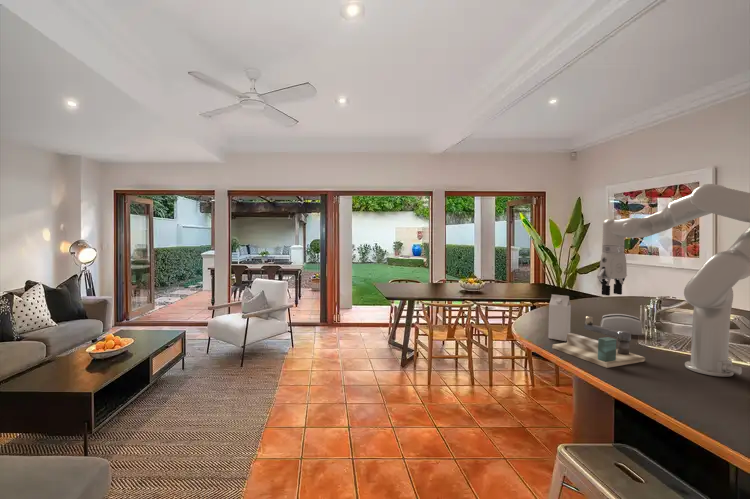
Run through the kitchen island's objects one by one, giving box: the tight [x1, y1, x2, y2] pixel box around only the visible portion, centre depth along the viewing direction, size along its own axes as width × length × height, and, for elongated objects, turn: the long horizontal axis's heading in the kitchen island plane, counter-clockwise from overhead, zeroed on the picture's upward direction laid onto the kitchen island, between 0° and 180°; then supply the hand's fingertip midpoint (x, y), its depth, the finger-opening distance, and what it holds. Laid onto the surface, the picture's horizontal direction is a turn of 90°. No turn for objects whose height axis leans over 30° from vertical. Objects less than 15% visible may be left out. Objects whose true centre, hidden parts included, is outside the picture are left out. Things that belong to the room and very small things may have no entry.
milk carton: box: [548, 293, 572, 342], centre depth 171 cm, size 7×7×19 cm
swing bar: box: [583, 315, 632, 343], centre depth 152 cm, size 18×4×6 cm, turn 21°
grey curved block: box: [599, 313, 643, 336], centre depth 181 cm, size 17×5×10 cm, turn 67°
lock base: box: [552, 332, 646, 369], centre depth 149 cm, size 24×19×9 cm
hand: (611, 294), depth 158 cm, fingers open, 6 cm apart
